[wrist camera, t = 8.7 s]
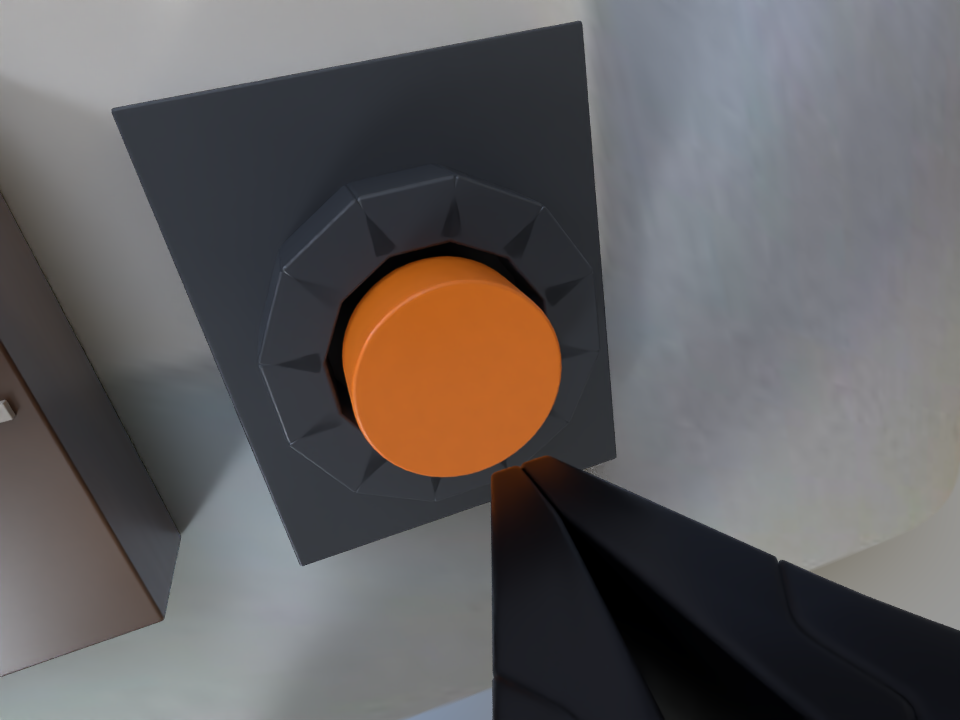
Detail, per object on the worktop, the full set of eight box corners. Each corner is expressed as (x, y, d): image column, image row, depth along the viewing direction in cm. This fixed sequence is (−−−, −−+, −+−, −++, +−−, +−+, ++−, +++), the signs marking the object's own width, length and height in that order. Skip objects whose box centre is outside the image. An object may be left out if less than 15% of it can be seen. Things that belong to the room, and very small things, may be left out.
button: (540, 402, 14) (572, 441, 12) (369, 457, 13) (382, 505, 12) (516, 233, 12) (550, 254, 11) (316, 284, 11) (323, 315, 10)
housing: (583, 421, 19) (651, 496, 16) (297, 514, 17) (303, 622, 14) (541, 28, 14) (628, 10, 11) (134, 105, 12) (79, 113, 9)
